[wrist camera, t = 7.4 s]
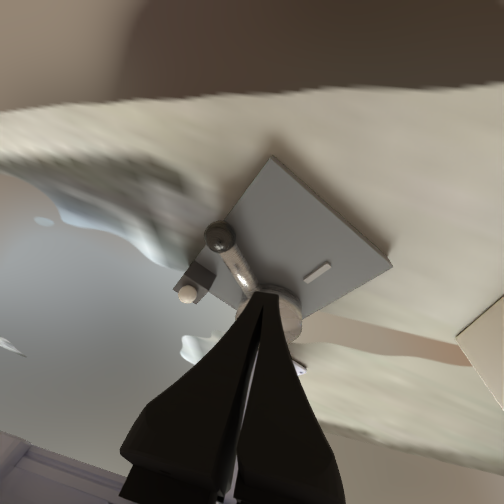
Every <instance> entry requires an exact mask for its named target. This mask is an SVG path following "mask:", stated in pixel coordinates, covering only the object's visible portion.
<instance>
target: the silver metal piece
mask: <svg viewBox="0 0 504 504" xmlns="http://www.w3.org/2000/svg"><path fill="white" fill-rule="evenodd" d="M236 239H237V236H236V231H235V229H234V228H233V226H232V225H230V224H229V223H227V222H225V221H216V222H213V223H211V224H210V225H209V226H208V227H207V228H206V230H205V233H204V241H205V243H206V245H207V247H208V248H209V249H210V250H212V251H213V252H216V253H219V255H220V256H221V258H222V259H223V261H224V263H225V264H226V266H227V267H228V269H229V270H230V272H231V273H232V275H233V276H234V278H235V280H236V281H237V283H238V284H239V286H240V287H241V289H242V290H243V292H244V293H243V295H242V298H241V301H240V304H239V307H238V310H237V313H236V317H235V320H237V318H238V317H239V315H240V314H241V313H242V311H243V310H244V308H245V307H246V305H247V303H248V302H249V300H250V298H251V296H252V294H253V292H255V291H259V292H265V293H272V294H278V295H279V308H280V315H281V321H282V326H283V330H284V334H285V338H286V342H287V343H290V342H292V341H294V340H295V339H296V338H298V337H299V335H300V333H301V330H302V306H301V303H300V301H299V299H298V298H297V297H296V296H295V295H294V294H293V293H292V292H291V291H289V290H287V289H285V288H283V287H280V286H277V285H272V284H259V282H258V280H257V278H256V277H255V275H254V273H253V272H252V270H251V268H250V266H249V265H248V263H247V261H246V260H245V258H244V256H243V254H242V253H241V251H240V249H239V247H238V246H237V244H236Z"/></svg>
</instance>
